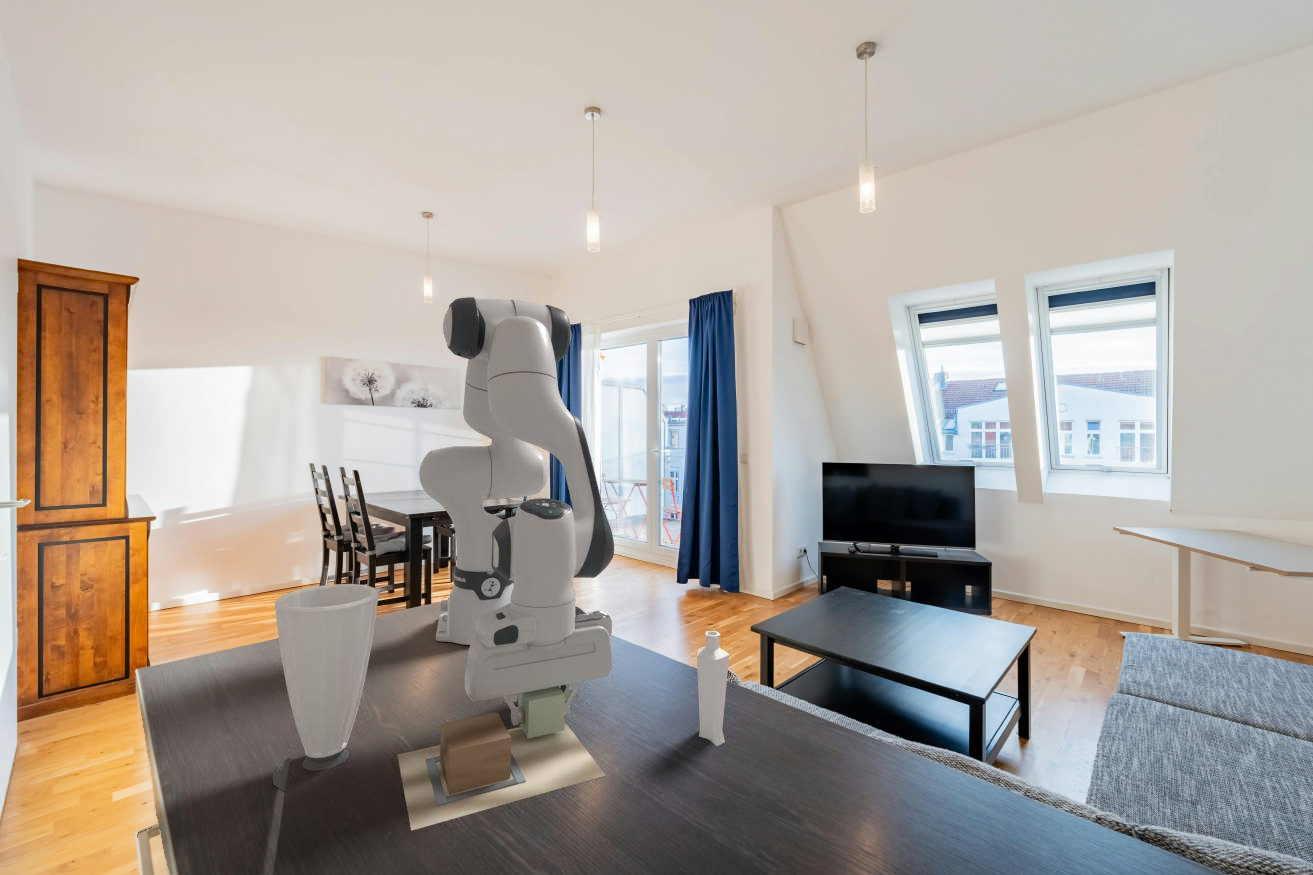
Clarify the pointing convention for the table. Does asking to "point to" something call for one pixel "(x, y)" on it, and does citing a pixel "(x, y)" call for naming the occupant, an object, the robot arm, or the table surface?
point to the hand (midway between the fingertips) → (540, 717)
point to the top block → (543, 711)
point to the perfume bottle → (712, 687)
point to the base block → (474, 752)
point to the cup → (325, 666)
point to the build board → (531, 774)
